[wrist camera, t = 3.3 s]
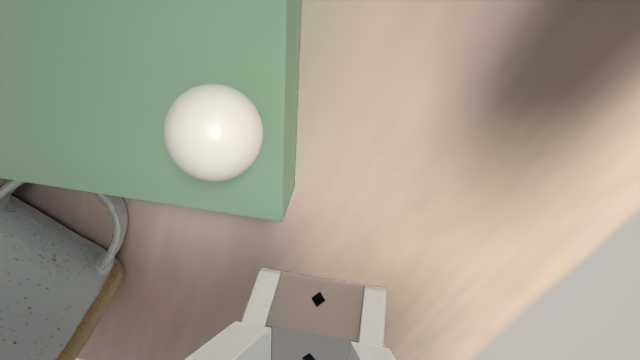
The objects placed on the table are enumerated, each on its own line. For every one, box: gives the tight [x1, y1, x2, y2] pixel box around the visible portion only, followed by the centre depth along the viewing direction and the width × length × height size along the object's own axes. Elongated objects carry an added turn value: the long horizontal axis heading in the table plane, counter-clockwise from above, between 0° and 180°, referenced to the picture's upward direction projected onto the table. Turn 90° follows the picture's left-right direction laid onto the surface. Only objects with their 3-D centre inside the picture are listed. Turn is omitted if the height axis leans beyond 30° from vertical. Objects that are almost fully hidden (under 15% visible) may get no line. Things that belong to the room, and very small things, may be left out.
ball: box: [163, 83, 263, 181], centre depth 16 cm, size 3×3×3 cm
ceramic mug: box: [0, 180, 128, 360], centre depth 23 cm, size 11×8×8 cm
